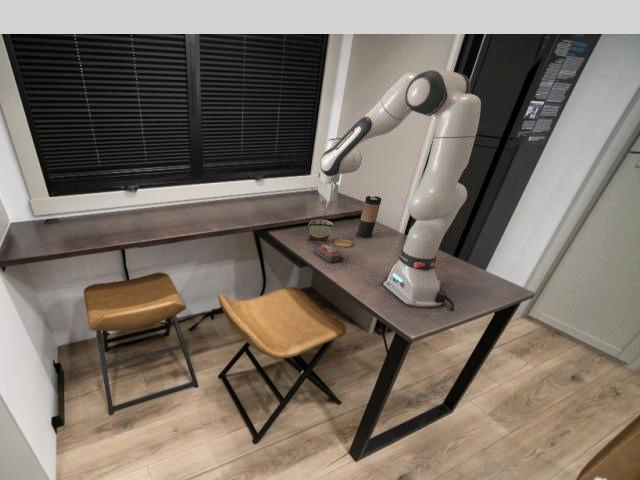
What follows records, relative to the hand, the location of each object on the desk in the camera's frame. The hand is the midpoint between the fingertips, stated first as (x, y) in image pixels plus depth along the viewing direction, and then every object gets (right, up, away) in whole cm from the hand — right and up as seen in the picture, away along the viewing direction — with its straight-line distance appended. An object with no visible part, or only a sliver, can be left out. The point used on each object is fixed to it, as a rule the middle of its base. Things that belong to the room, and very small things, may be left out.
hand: (324, 207), depth 150 cm
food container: (-1, -14, +11) cm, 18 cm away
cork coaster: (+11, -16, +7) cm, 21 cm away
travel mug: (+26, -10, +17) cm, 33 cm away
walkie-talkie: (-1, -23, -3) cm, 24 cm away
